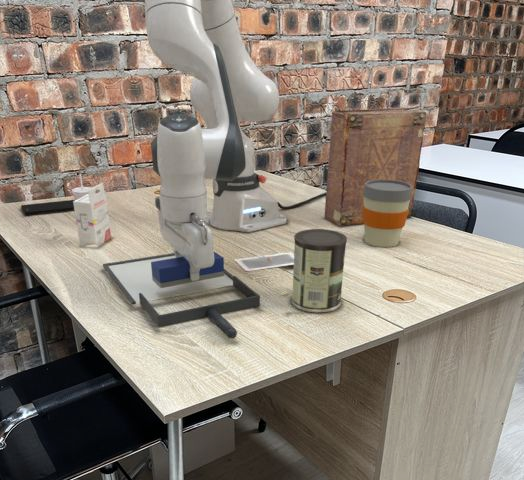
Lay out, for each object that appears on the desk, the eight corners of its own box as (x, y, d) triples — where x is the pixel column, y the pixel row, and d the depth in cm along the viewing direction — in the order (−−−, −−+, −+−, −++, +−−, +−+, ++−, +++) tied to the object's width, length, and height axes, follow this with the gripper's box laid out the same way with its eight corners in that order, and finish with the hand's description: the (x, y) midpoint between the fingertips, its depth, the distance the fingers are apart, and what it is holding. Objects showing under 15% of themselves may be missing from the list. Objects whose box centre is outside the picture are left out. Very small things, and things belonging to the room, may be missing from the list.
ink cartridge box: (94, 236, 149) (86, 180, 142) (111, 238, 149) (105, 182, 141) (79, 247, 142) (70, 188, 135) (97, 248, 141) (89, 190, 134)
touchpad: (305, 267, 132) (305, 258, 131) (246, 275, 127) (246, 266, 126) (290, 256, 139) (291, 247, 138) (234, 264, 133) (234, 255, 132)
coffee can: (329, 290, 122) (334, 226, 114) (348, 310, 113) (355, 243, 106) (284, 294, 119) (287, 230, 112) (300, 315, 110) (305, 247, 103)
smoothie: (71, 225, 157) (64, 174, 150) (86, 219, 163) (79, 169, 156) (90, 228, 155) (83, 176, 148) (104, 222, 161) (98, 172, 154)
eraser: (214, 268, 120) (213, 250, 118) (224, 276, 116) (224, 257, 114) (152, 280, 114) (150, 261, 112) (160, 288, 110) (159, 269, 108)
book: (393, 209, 177) (407, 107, 162) (411, 217, 170) (427, 111, 155) (323, 218, 168) (332, 110, 153) (339, 227, 161) (350, 114, 146)
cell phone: (87, 208, 171) (86, 205, 171) (25, 215, 164) (24, 212, 163) (81, 201, 178) (80, 198, 178) (21, 208, 171) (20, 205, 170)
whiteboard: (200, 255, 139) (199, 248, 138) (240, 288, 121) (240, 281, 120) (103, 270, 129) (102, 263, 128) (132, 309, 111) (131, 302, 110)
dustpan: (140, 308, 112) (138, 293, 110) (235, 290, 120) (234, 275, 119) (178, 358, 95) (177, 340, 94) (284, 332, 104) (285, 316, 102)
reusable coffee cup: (413, 241, 151) (422, 185, 143) (388, 252, 143) (397, 193, 135) (374, 231, 158) (380, 177, 151) (348, 241, 150) (354, 184, 142)
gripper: (221, 219, 101) (223, 289, 108) (180, 192, 117) (184, 255, 124) (189, 224, 99) (193, 295, 106) (151, 196, 114) (157, 260, 121)
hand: (188, 273), depth 115 cm, fingers closed on eraser, 5 cm apart
